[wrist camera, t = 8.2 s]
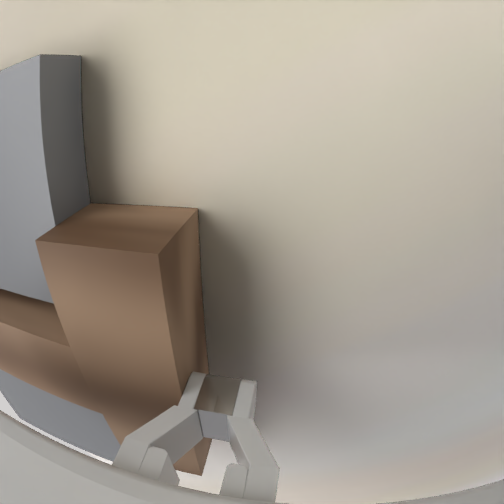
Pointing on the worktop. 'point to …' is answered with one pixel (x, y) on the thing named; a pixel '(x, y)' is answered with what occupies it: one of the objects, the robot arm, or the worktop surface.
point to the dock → (43, 217)
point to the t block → (114, 316)
